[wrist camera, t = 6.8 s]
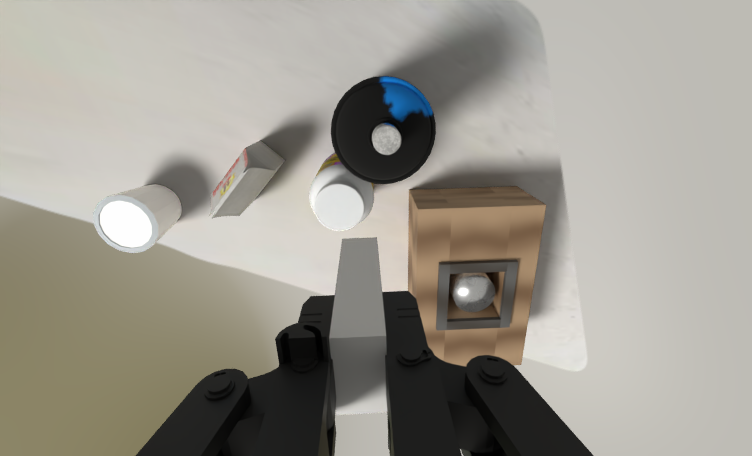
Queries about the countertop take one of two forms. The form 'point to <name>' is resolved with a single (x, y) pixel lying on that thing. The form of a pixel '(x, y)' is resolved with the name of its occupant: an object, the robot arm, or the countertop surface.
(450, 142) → the countertop surface
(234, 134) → the countertop surface
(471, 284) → the peg
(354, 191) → the supplement bottle
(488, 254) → the socket block
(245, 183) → the grey boxy piece
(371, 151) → the aerosol can
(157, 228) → the white cup
